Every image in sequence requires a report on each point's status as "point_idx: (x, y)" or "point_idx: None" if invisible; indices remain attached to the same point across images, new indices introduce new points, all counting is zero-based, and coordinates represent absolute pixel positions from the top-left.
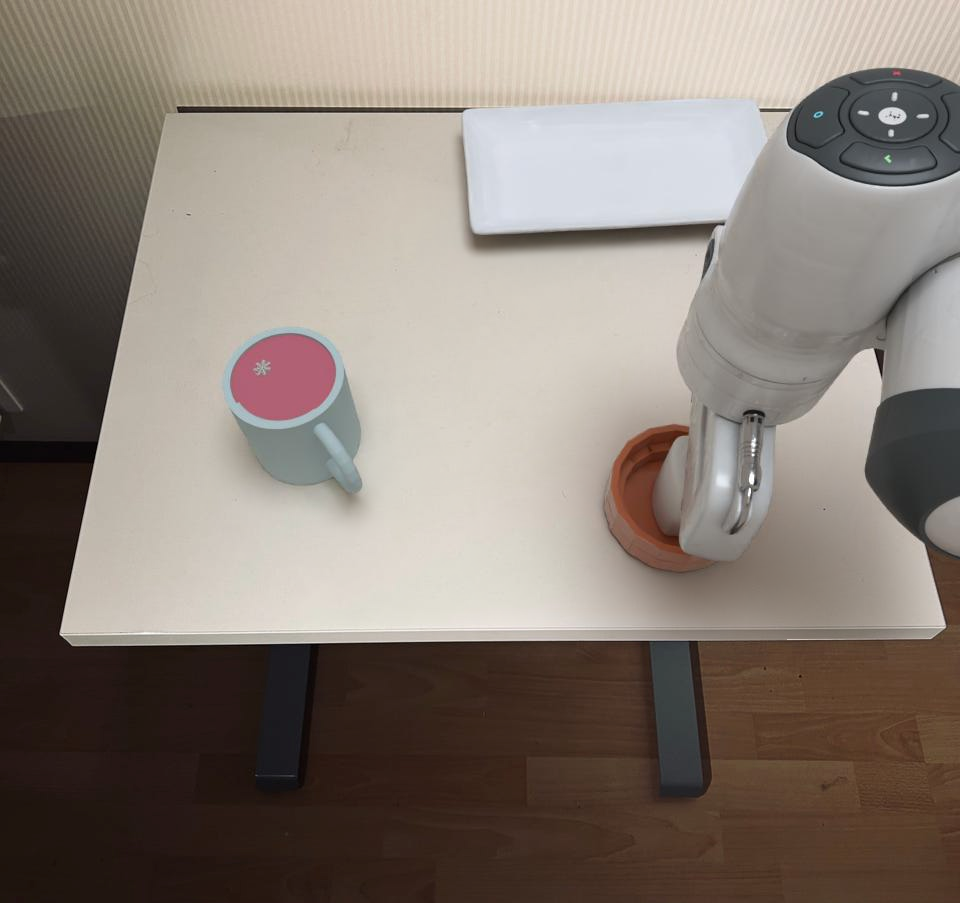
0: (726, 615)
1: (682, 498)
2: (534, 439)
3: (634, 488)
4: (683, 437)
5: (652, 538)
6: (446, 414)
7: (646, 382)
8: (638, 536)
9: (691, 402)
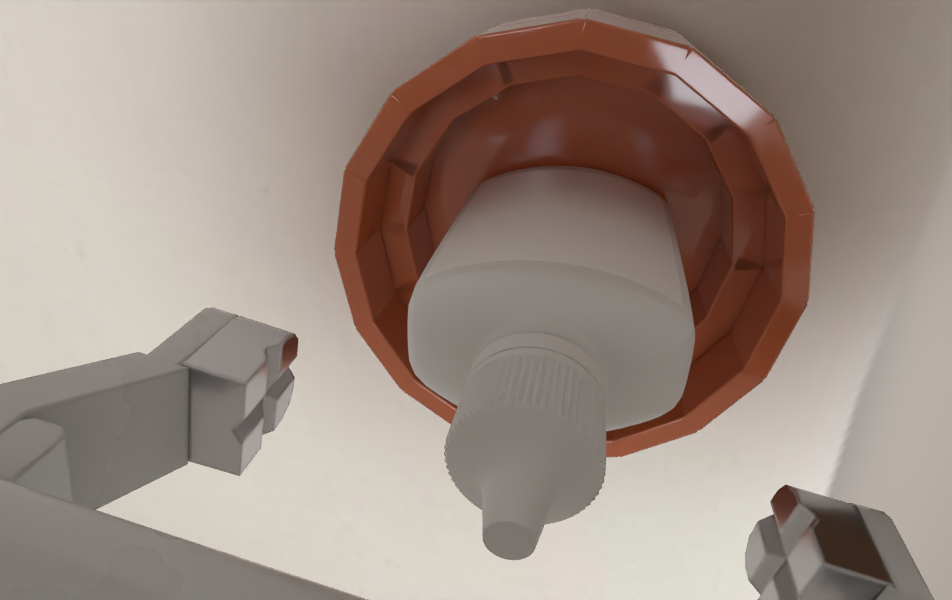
0: (935, 117)
1: (750, 577)
2: (377, 462)
3: None
4: (420, 374)
5: (718, 395)
6: (333, 581)
7: (198, 203)
8: (703, 426)
9: (283, 415)
